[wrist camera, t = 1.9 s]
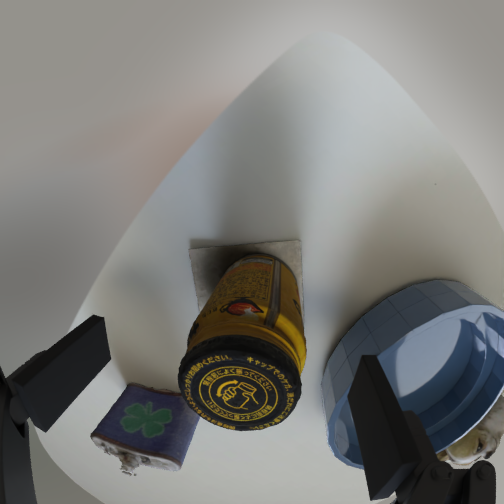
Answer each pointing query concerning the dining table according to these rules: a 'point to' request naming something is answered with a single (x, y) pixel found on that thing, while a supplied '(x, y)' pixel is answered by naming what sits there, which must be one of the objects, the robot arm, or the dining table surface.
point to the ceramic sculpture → (478, 438)
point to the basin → (421, 362)
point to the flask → (147, 429)
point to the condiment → (245, 335)
